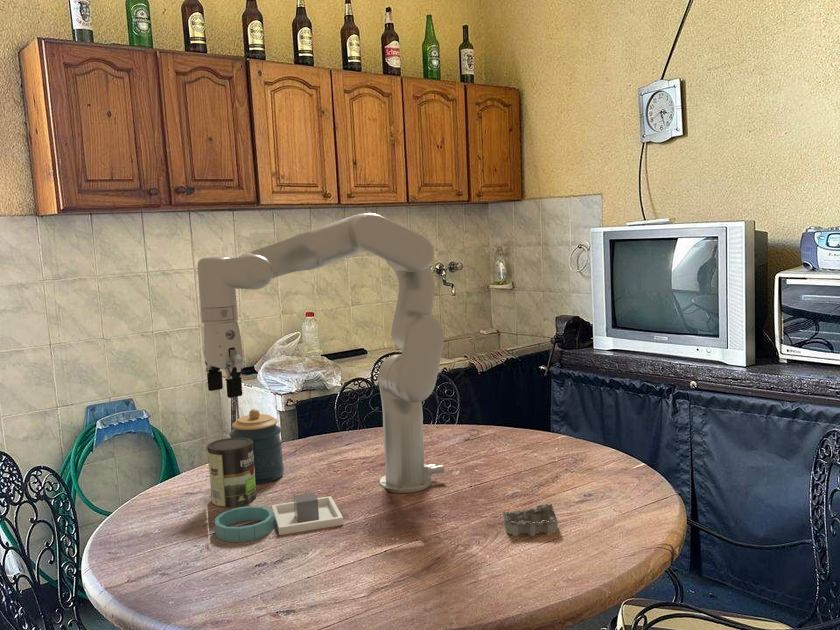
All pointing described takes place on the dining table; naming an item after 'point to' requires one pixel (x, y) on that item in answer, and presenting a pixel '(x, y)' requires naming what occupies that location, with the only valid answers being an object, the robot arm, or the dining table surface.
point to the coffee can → (232, 472)
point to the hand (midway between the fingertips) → (225, 393)
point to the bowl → (246, 531)
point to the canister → (262, 444)
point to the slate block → (306, 507)
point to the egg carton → (533, 515)
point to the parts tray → (327, 518)
